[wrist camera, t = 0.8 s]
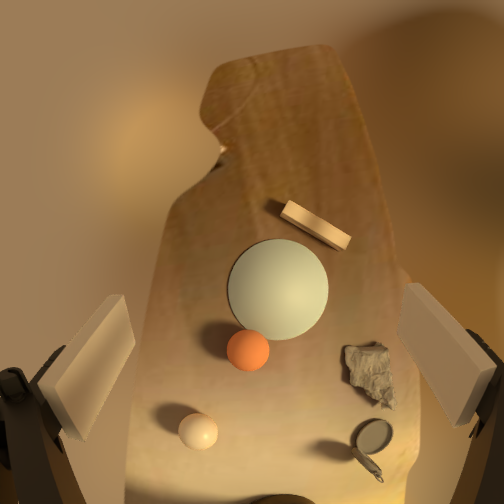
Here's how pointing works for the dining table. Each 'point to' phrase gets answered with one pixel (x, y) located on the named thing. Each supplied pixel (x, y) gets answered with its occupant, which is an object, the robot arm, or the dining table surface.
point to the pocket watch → (372, 444)
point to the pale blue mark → (278, 289)
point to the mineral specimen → (372, 372)
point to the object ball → (247, 350)
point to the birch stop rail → (315, 226)
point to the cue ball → (198, 431)
